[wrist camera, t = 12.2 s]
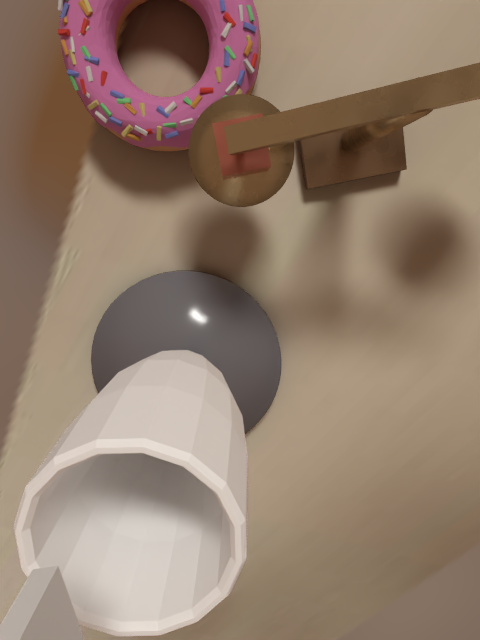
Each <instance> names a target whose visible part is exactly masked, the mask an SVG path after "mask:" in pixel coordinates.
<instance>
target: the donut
mask: <svg viewBox="0 0 480 640" xmlns="http://www.w3.org/2000/svg"><path fill="white" fill-rule="evenodd" d="M146 1H148V0H58V10H59V11H61V16H60V17H61V20H60V29H59V30H58V34H59V35H61V47H62V53H63V58H64V63H65V66H66V69H67V74H68V75H69V78H70V80H71V82H72V84H73V87H74V89H75V90H76V91H77V93H78V94H79V96H80V98H81V100H82V101H83V103H84V105H85V107H86V109H87V110H88V111H89V113H90V114H91V115H92V117H93V118H94V119H95V120H96V121H97V122H98V123H99V124H100V125H102V126H104V127H105V128H106V129H108V130H109V131H110V132H112V133H113V134H115V135H116V136H117V137H119V138H120V139H122V140H124V141H126V142H128V143H130V144H133V145H136V146H139V147H141V148H145V149H150V150H156V151H179V150H186V149H189V140H190V136H191V132H192V129H193V127H194V125H195V123H196V121H197V119H198V118H199V116H200V115H201V114H202V112H203V111H204V110H205V109H206V108H207V107H208V106H210V105H211V104H212V103H214V102H215V101H217V100H219V99H221V98H223V97H226V96H230V95H235V94H248V95H251V92H252V90H253V87H254V84H255V81H256V78H257V74H258V69H259V63H260V54H261V37H260V29H259V21H258V16H257V12H256V9H255V6H254V3H253V0H178V1H181V2H183V3H184V4H186V5H188V6H190V7H191V8H192V9H193V10H194V11H196V12H197V13H198V15H199V16H200V17H201V19H202V21H203V23H204V25H205V27H206V30H207V35H208V39H209V59H208V63H207V67H206V69H205V71H204V73H203V75H202V77H201V79H200V80H199V81H198V82H197V83H196V84H195V86H194V87H192V88H191V89H189V90H188V91H187V92H184V93H182V94H180V95H177V96H173V97H158V96H154V95H150V94H148V93H145V92H144V91H142V90H140V89H139V88H138V87H136V86H135V85H134V84H133V83H132V82H131V81H130V80H129V78H128V77H127V76H126V74H125V73H124V71H123V69H122V67H121V65H120V63H119V60H118V55H117V41H118V37H119V32H120V29H121V27H122V25H123V23H124V21H125V19H126V18H127V16H128V15H129V14H130V13H131V11H132V10H133V9H135V8H136V7H137V6H138V5H140V4H142V3H144V2H146Z"/></svg>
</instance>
